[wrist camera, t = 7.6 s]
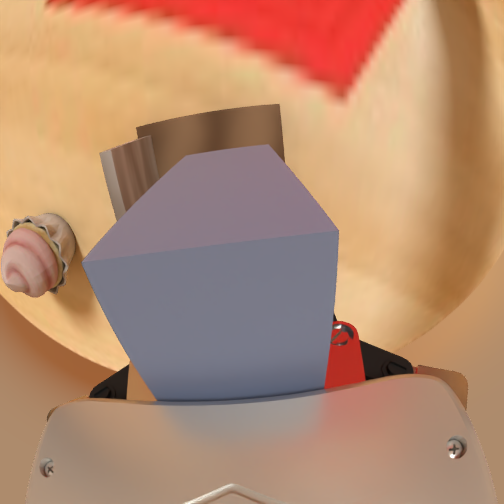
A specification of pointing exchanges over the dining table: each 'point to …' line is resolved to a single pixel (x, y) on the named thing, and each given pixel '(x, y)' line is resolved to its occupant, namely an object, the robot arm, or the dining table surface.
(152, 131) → the bent wood veneer panel
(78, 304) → the dining table surface
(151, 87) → the dining table surface
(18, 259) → the cupcake
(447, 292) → the dining table surface
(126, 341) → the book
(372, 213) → the dining table surface
